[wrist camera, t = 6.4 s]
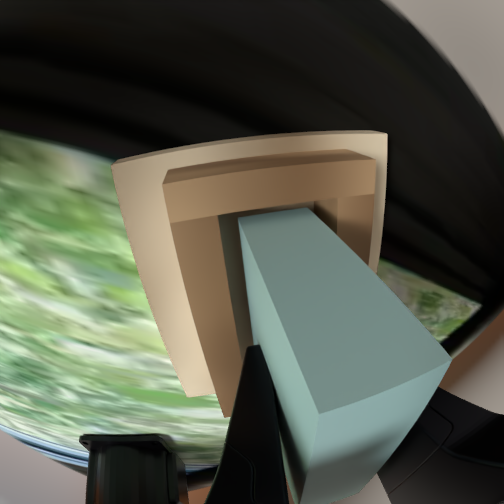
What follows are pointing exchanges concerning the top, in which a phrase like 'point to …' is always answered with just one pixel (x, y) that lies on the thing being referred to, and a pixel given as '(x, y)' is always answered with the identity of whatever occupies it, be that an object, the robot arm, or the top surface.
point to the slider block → (333, 354)
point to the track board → (237, 231)
